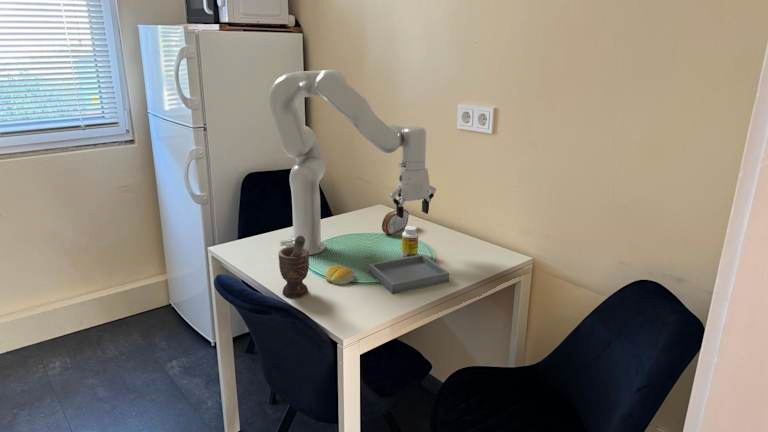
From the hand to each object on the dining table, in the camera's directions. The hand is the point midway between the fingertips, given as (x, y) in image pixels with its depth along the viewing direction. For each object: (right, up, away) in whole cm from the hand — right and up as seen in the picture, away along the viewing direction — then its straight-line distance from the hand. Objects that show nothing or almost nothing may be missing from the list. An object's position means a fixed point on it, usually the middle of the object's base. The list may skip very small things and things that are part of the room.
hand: (412, 214), depth 178 cm
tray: (-2, -20, -12) cm, 23 cm away
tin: (-5, -7, +27) cm, 29 cm away
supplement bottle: (-1, -14, +5) cm, 15 cm away
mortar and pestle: (-35, -23, -24) cm, 48 cm away
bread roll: (-23, -20, -14) cm, 34 cm away
